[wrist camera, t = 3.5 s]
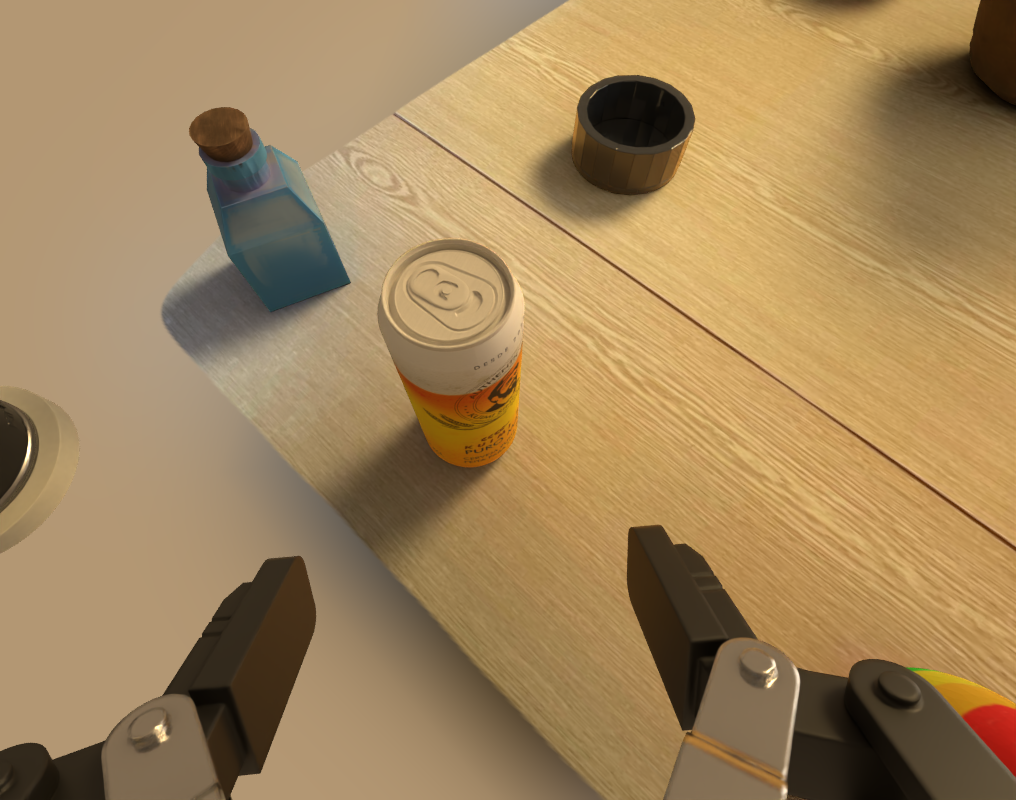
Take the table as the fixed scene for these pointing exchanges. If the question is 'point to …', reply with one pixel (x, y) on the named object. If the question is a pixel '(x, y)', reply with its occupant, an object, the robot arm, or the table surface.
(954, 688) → the striped foam ball
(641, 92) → the round brown bowl
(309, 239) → the perfume bottle
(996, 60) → the pitcher
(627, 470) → the table surface
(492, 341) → the beer can
